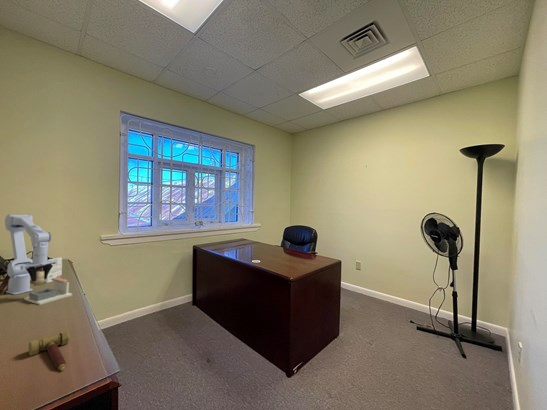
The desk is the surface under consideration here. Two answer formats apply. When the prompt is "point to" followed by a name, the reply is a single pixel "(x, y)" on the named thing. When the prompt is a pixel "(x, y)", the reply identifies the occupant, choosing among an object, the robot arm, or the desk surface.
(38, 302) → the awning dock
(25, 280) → the robot arm
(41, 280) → the maple peg
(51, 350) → the gavel
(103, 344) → the desk surface
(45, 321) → the desk surface
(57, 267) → the ink cartridge box
